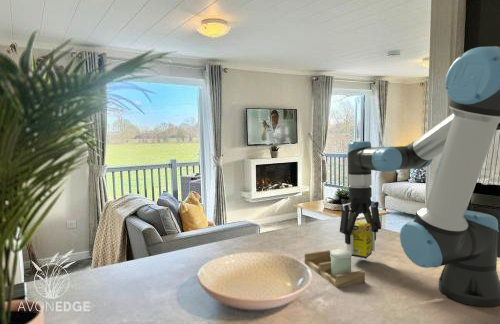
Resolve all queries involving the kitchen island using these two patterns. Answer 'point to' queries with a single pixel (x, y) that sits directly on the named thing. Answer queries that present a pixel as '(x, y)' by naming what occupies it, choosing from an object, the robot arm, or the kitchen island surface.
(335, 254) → the pale green cylinder
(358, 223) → the supplement box
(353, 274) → the caddy
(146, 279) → the kitchen island surface
